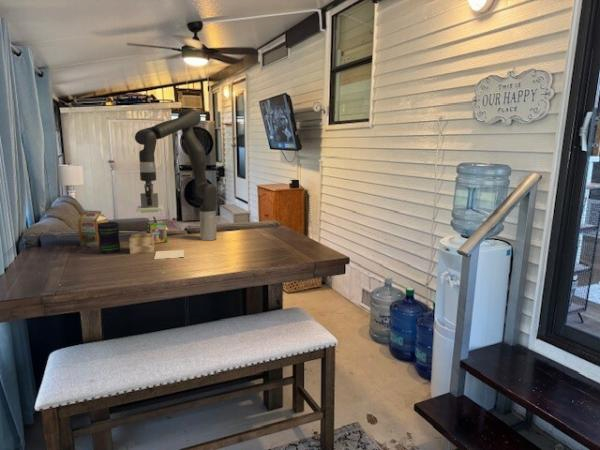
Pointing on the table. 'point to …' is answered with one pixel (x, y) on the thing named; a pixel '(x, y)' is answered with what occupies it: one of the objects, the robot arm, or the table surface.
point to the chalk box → (157, 230)
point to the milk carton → (90, 227)
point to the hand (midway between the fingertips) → (150, 204)
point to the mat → (169, 254)
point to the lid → (146, 208)
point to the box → (141, 243)
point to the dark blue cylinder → (108, 238)
